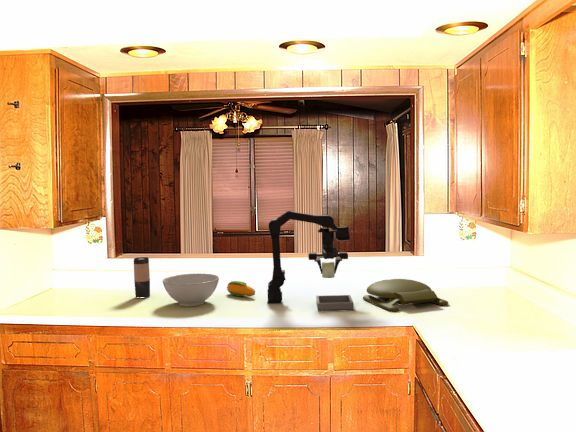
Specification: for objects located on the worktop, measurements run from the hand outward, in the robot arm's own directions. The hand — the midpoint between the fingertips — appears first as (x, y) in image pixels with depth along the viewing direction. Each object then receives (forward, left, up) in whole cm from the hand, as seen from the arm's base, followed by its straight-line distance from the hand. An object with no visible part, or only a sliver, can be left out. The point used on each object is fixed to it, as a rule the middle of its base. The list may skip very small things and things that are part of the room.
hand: (328, 273), depth 277 cm
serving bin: (+2, -13, -13) cm, 18 cm away
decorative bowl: (-66, 0, -13) cm, 68 cm away
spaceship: (+34, -4, -14) cm, 37 cm away
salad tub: (0, 0, -2) cm, 2 cm away
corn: (-43, +14, -13) cm, 47 cm away
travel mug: (-94, +16, -13) cm, 96 cm away
